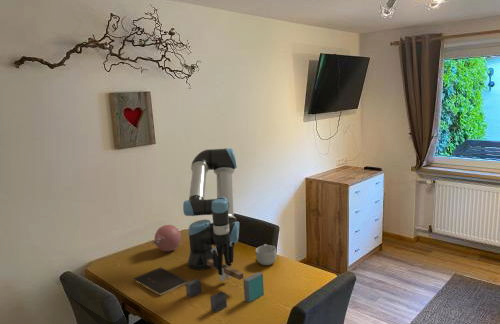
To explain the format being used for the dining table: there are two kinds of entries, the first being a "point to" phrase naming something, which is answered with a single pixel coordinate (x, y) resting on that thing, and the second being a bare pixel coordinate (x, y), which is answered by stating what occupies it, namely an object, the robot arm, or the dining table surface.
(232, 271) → the walnut stick
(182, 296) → the dining table surface
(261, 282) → the tile
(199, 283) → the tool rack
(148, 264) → the dining table surface
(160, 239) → the balloon
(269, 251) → the teacup
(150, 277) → the hardcover book
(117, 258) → the dining table surface
